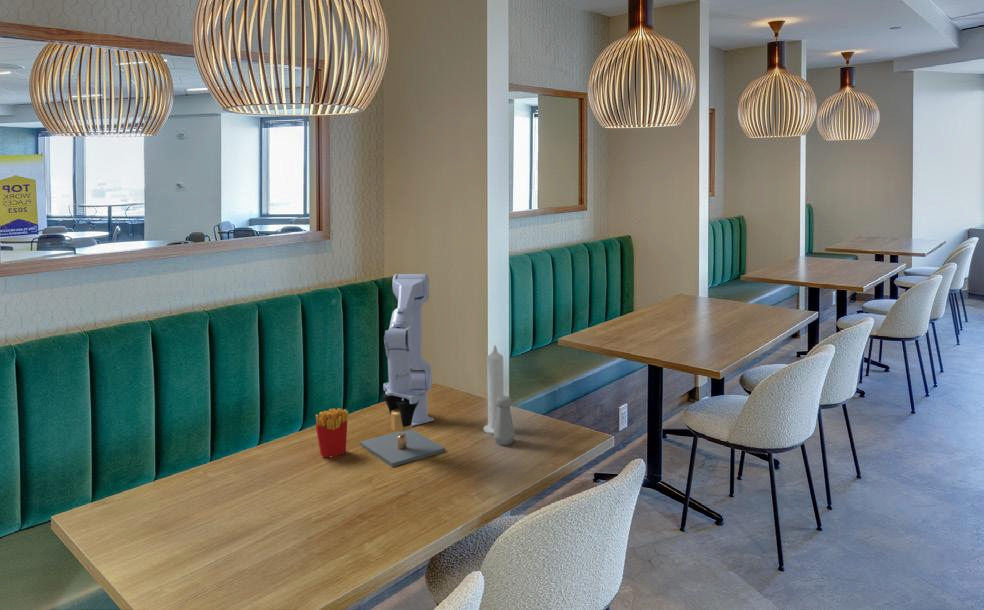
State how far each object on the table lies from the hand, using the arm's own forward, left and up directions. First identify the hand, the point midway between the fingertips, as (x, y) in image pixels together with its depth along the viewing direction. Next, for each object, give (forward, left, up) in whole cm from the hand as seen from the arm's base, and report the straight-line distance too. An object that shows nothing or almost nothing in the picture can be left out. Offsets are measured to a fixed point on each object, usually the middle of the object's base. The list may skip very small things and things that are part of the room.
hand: (401, 422), depth 196 cm
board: (-2, +1, -8) cm, 8 cm away
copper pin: (0, 0, -8) cm, 8 cm away
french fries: (-10, -15, -8) cm, 20 cm away
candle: (+3, +29, -8) cm, 30 cm away
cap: (0, 0, -1) cm, 1 cm away
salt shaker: (+12, +25, -8) cm, 29 cm away
